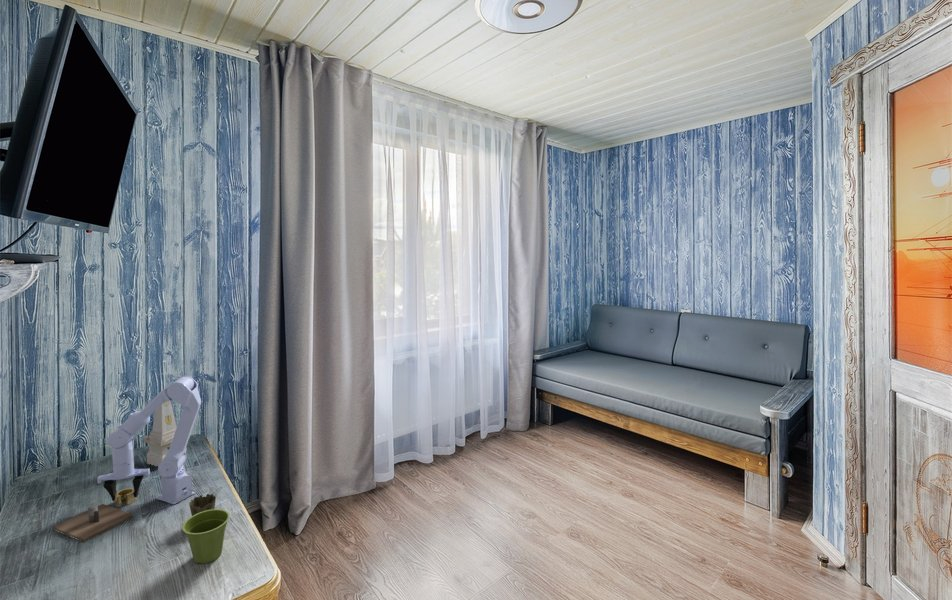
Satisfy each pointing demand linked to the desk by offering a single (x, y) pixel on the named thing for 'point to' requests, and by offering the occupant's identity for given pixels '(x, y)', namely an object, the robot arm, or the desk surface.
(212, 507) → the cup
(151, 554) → the desk surface
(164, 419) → the miniature monument
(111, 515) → the post stand
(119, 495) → the brass collar
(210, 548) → the plant pot
